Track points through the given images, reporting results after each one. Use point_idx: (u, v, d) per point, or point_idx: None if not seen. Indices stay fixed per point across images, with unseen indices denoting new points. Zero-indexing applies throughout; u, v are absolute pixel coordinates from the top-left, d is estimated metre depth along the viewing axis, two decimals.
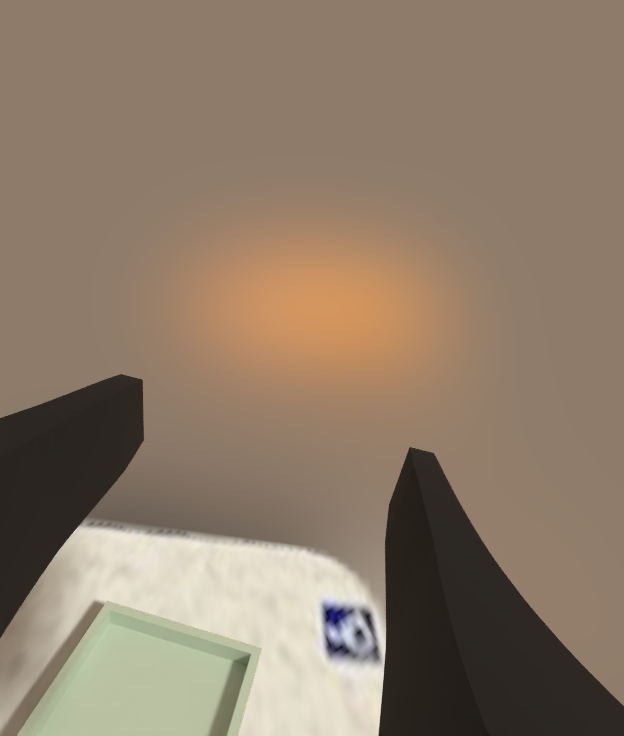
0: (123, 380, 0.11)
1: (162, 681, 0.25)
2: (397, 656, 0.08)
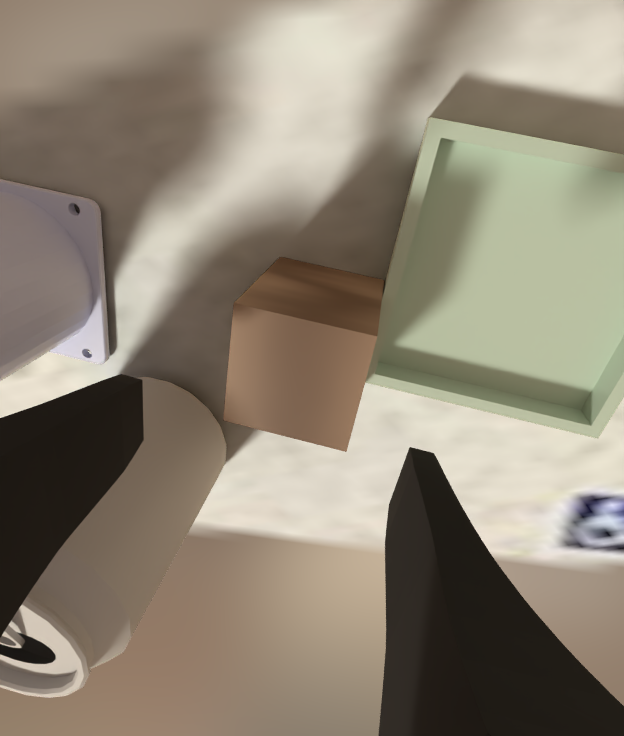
0: (123, 380, 0.11)
1: (576, 302, 0.17)
2: (397, 656, 0.08)
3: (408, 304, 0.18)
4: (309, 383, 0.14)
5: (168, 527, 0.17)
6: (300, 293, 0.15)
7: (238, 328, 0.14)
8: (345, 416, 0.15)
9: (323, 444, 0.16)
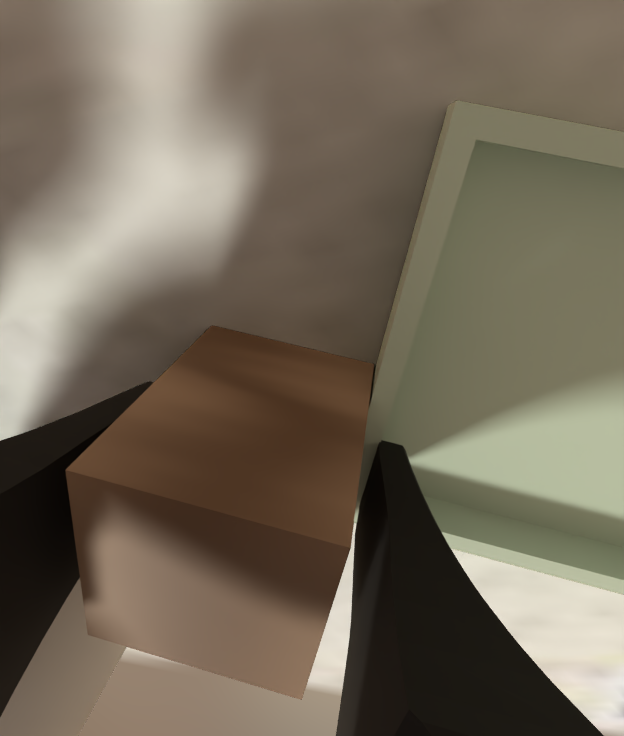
0: None
1: None
2: (356, 644, 0.08)
3: (412, 404, 0.11)
4: (226, 603, 0.08)
5: None
6: (219, 419, 0.09)
7: (83, 510, 0.07)
8: (297, 654, 0.08)
9: (261, 682, 0.09)
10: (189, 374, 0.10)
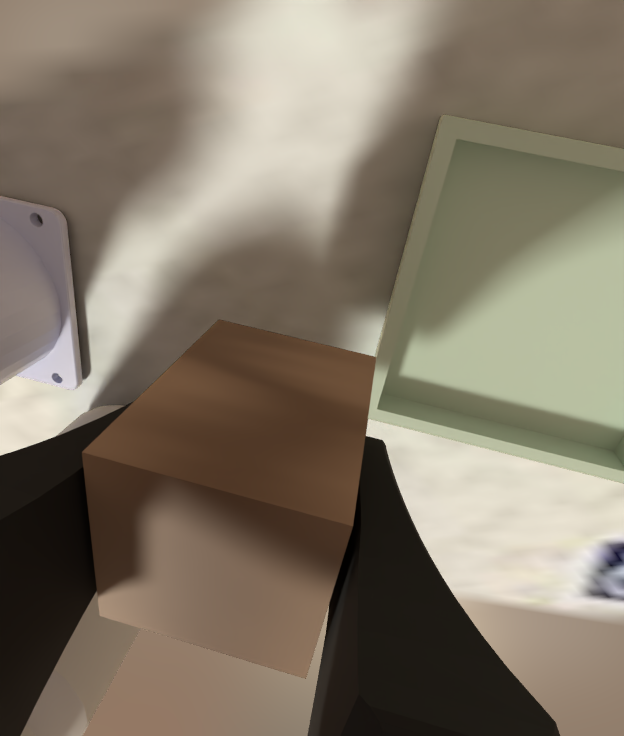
0: None
1: (612, 331, 0.15)
2: (330, 637, 0.08)
3: (415, 330, 0.16)
4: (234, 582, 0.08)
5: None
6: (226, 407, 0.09)
7: (98, 492, 0.08)
8: (301, 633, 0.08)
9: (266, 662, 0.09)
10: (197, 365, 0.10)
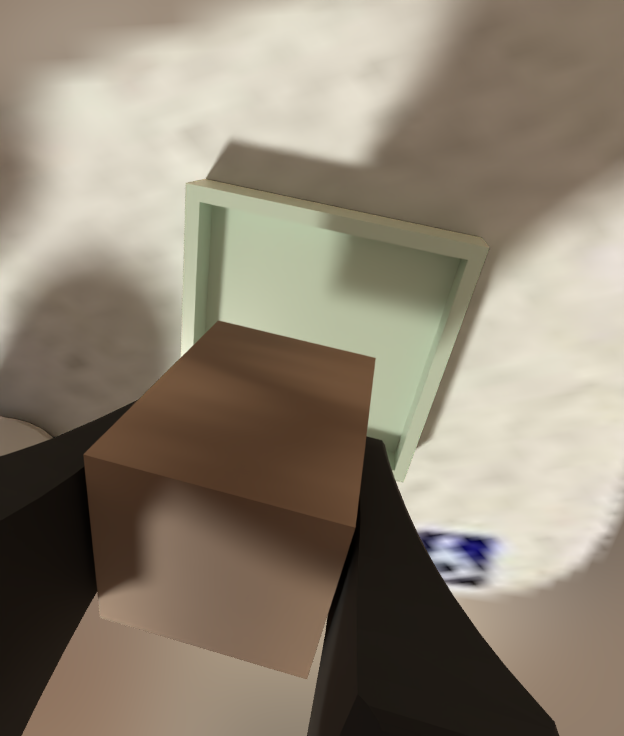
0: None
1: (369, 353, 0.17)
2: (329, 636, 0.08)
3: None
4: (235, 584, 0.08)
5: None
6: (227, 408, 0.09)
7: (99, 494, 0.08)
8: (302, 634, 0.08)
9: (267, 663, 0.09)
10: (197, 367, 0.10)
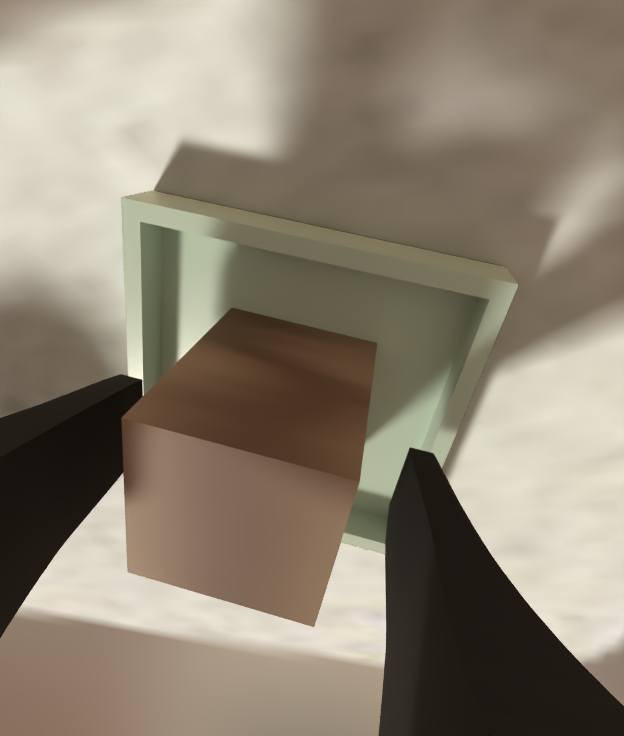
0: (123, 380, 0.11)
1: None
2: (397, 656, 0.08)
3: None
4: (252, 536, 0.09)
5: None
6: (244, 383, 0.10)
7: (133, 454, 0.09)
8: (311, 583, 0.09)
9: (278, 612, 0.10)
10: (215, 347, 0.11)
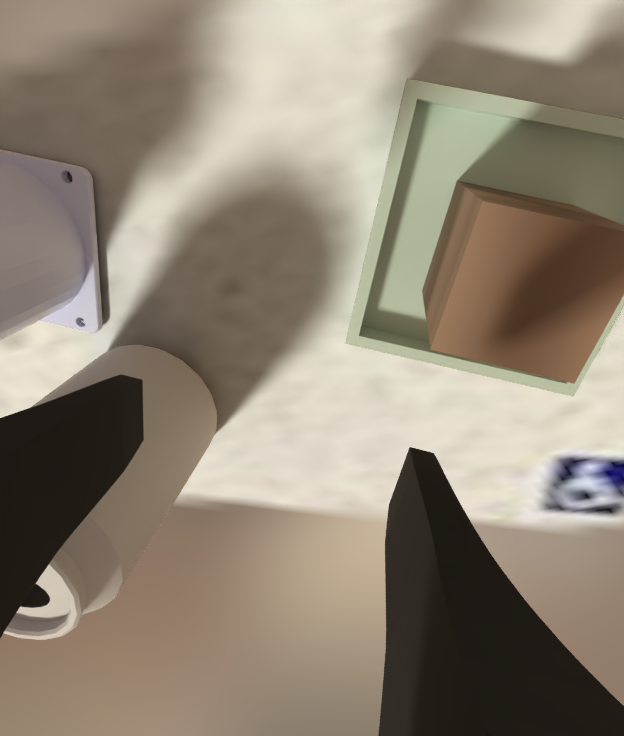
0: (123, 380, 0.11)
1: None
2: (397, 656, 0.08)
3: (390, 267, 0.19)
4: (551, 300, 0.13)
5: (159, 482, 0.18)
6: (525, 203, 0.13)
7: (480, 233, 0.12)
8: (586, 340, 0.13)
9: (545, 376, 0.14)
10: (481, 190, 0.15)
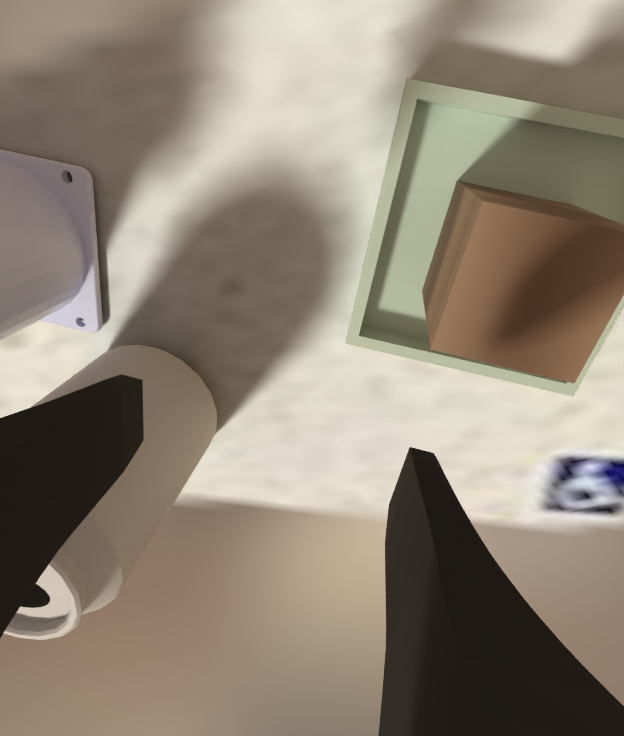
0: (123, 380, 0.11)
1: None
2: (397, 656, 0.08)
3: (390, 267, 0.19)
4: (551, 300, 0.13)
5: (159, 481, 0.18)
6: (525, 203, 0.13)
7: (480, 233, 0.12)
8: (586, 340, 0.13)
9: (545, 375, 0.14)
10: (480, 190, 0.15)
